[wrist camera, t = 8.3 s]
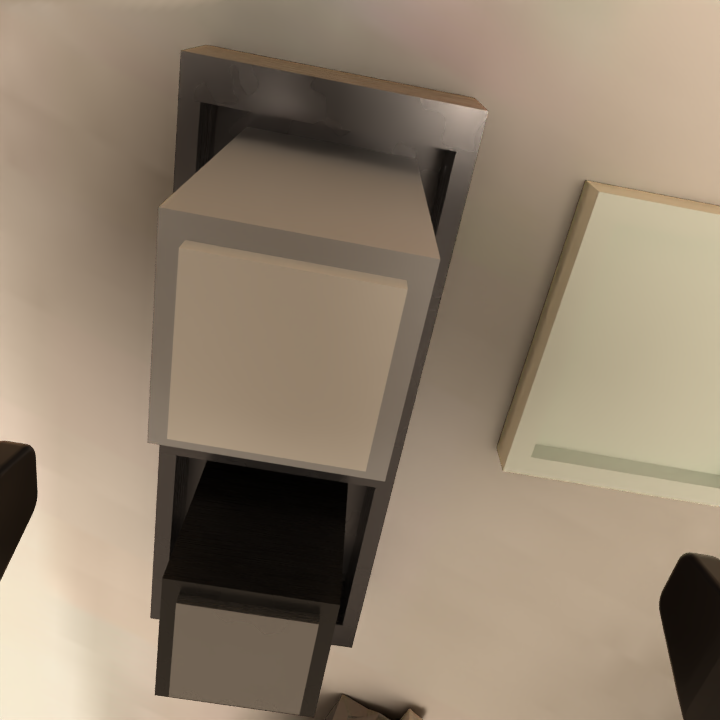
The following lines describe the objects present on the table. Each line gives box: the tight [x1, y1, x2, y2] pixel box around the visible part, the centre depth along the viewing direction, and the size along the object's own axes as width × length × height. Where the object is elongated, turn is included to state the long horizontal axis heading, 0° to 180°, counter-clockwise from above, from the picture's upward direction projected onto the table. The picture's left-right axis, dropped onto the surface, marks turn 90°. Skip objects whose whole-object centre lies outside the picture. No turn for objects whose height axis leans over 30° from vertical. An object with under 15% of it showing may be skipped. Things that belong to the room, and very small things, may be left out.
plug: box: [148, 127, 440, 482], centre depth 15 cm, size 4×4×8 cm
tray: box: [497, 180, 720, 507], centre depth 20 cm, size 9×8×1 cm
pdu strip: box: [150, 45, 488, 717], centre depth 19 cm, size 18×7×7 cm, turn 170°
